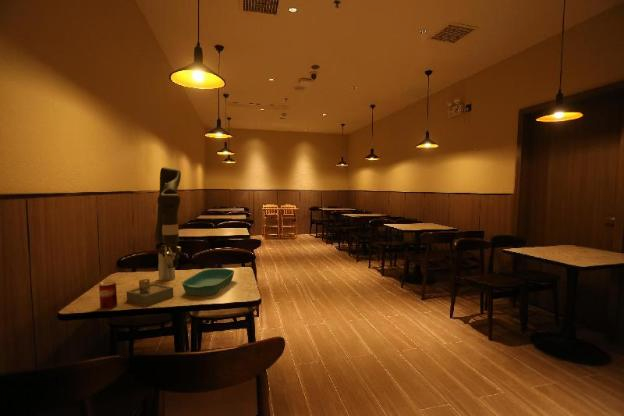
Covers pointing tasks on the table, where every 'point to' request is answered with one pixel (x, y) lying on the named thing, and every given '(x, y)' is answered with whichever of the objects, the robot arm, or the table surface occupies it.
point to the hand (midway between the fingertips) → (172, 265)
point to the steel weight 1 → (144, 286)
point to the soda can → (108, 295)
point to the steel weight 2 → (169, 261)
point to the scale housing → (150, 296)
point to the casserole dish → (208, 281)
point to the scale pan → (152, 290)
